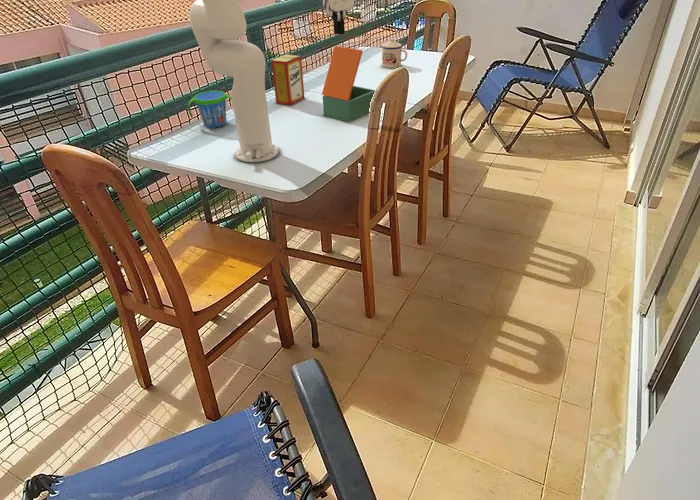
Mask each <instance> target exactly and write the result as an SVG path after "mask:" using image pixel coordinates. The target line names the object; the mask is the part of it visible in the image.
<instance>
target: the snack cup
mask: <svg viewBox="0 0 700 500" xmlns="http://www.w3.org/2000/svg"><path fill="white" fill-rule="evenodd" d="M227 99H229V100H231V101H232V97H231V95H229V94H227V93H225V92H224V91H222V90H206V91H201V92H200V93H197V94H195V95H194V96H193V97H192V98H191V99H190V100H189V102H188V106H187V110H188V114H189V116H190V118H191V119H192V118H193V113H192V110H191V104H193V102H194V104H195V106H196V108H197V109H198V113H199V115H200V118H201V121H202V122H203V125H204V126H205V127H206V128H209V129H210V128H211V129H212V128H213V129H214V128H220V127H222V126H224V125H225V124H227V106H226V105H227V104H226V101H227Z"/></svg>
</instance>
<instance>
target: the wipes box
mask: <svg viewBox="0 0 700 500" xmlns="http://www.w3.org/2000/svg"><path fill="white" fill-rule="evenodd" d="M375 90H376V89H371V88H368V87H362V86H356V85H353V88H352V92H351V95H350V99H349V101H347V100H342V99H338V98H333V97H329V96H325V95H322V106H323V107H322V108H323V116H325V117H329V118H333V119H336V120H341V121H344V122H348V123H350V122H352V121H354V120H356V119H359V118H361V117H363V116H365V115H367V114H369V113H370V112H369V108H370V102H371V99H372V97H373V94H374V92H375Z"/></svg>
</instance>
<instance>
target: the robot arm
mask: <svg viewBox="0 0 700 500" xmlns="http://www.w3.org/2000/svg"><path fill="white" fill-rule="evenodd" d="M354 6H355V0H322V7H323V9H324V11H325V16H326V17H329V18H331V21H332V22H333V34H334V35H338V36H339V35H340V36H341V35H345V33H346V30H345V20H346V16H347V14H348V13H349V12H351V10H352V8H353V7H354ZM189 24H190V27H191V30H192V32H193V36H194V37H195V39H196V42H197V45H198V46H199V48H200V52H201V53H202V55H203V58H204V60H205V62H206V64H207V65H208V67H209V68H210V70H212V71H213V72H214V73H216V74H219V75H221V76H225V77H229V78H233V83H232V87H231V92H230V93H231V94H230V96H231V97H232V100H231V104H232V109H233V115H234V120H235V126H236V127H235V128H236V132H237V138H238V143H239V147H238V148H237V150H236V151H235V158H236V159H237V160H239V161H242V162H245V163H261V162H266V161H269V160H272V159H273V158H275V157H277V156H278V154H279V147H278V146H277V145H276V144H274V143H273V140H272V132H271V131H272V130H271V125H270V117H269V110H268V101H267V93H266V80H265V79H266V57H265V54H264V52H263V51H262V49H260V47H258V46H257V45H256V44H253V43H251V42H249V41H244V40H240V39H241V38H243V37H244V36H245V35H246V32H247V20H246V17H245V13H244V10H243V8H242V5H241V1H240V0H194V2H193V3H192V4H191V6H190V10H189Z"/></svg>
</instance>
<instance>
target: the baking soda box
mask: <svg viewBox="0 0 700 500" xmlns="http://www.w3.org/2000/svg"><path fill="white" fill-rule="evenodd" d="M270 63H271V69H272V78H273V88H274V96H275V103H276V104H279V105H285V106H292V105H294V104H296V103H299V102H300V101H302V100H304V99H305V89H304V87H305V86H304V77H303V76H304V75H303V63H302V56H301V55H295V54H283V55H281V56H278V57H276V58H273V59H271V62H270Z"/></svg>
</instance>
